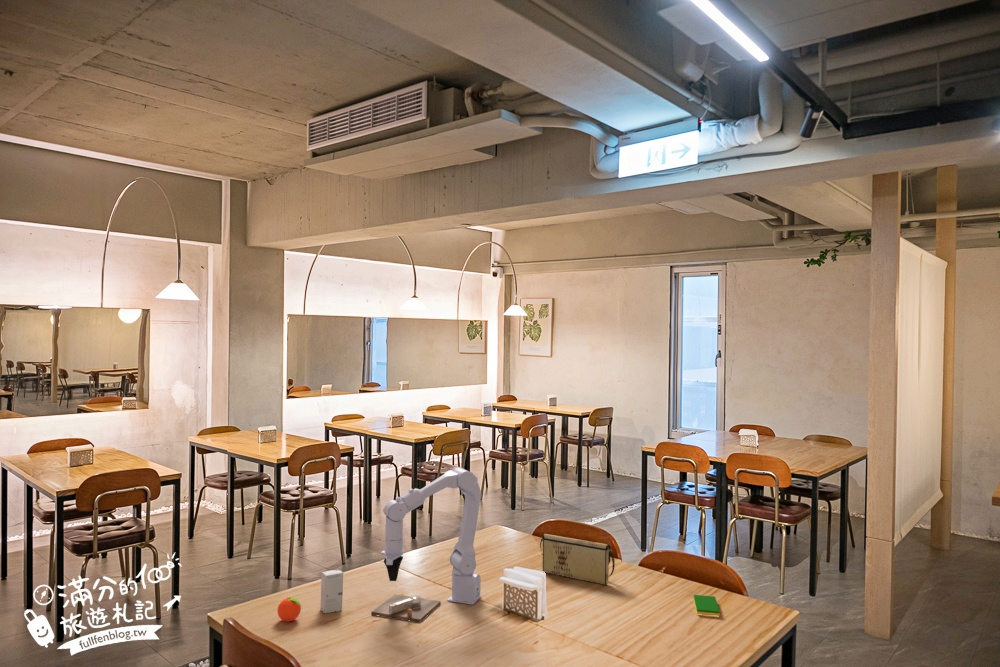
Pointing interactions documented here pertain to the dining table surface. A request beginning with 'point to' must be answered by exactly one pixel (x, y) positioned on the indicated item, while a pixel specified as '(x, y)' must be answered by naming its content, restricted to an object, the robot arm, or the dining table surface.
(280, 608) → the clementine
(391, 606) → the cap handle
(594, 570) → the clutch purse
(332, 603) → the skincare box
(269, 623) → the dining table surface
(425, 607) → the base board
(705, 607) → the dish sponge
